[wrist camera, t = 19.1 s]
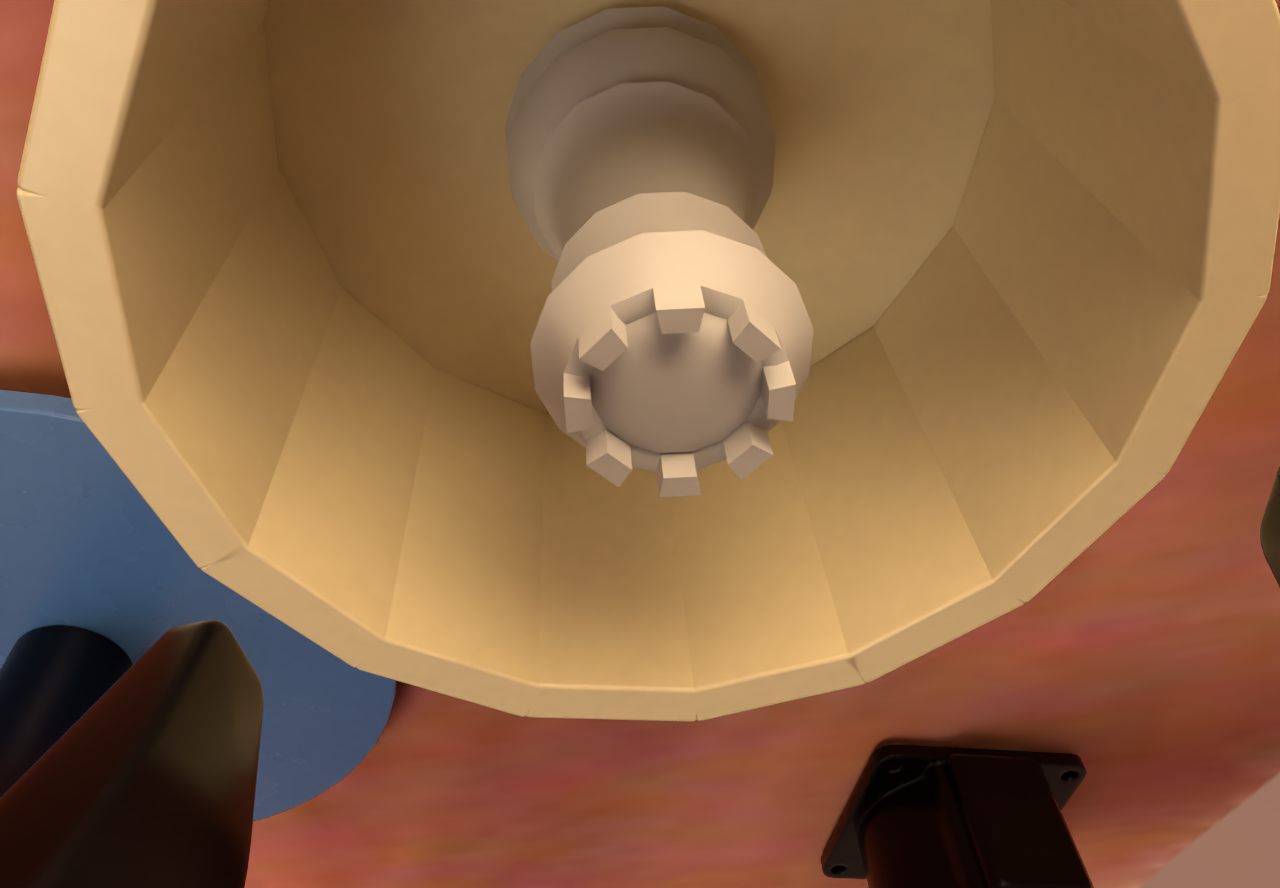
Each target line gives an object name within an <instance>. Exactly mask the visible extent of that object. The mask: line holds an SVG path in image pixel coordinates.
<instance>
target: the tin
mask: <svg viewBox="0 0 1280 888" xmlns="http://www.w3.org/2000/svg"><path fill="white" fill-rule="evenodd" d="M659 6H665V7H667V8H670V9H672V10H675V11H677V12H680V13H682V14H685V15H687V16H690V17H692V18H695V19H697V20H700V21H702V22H705V23H707V24H710V25H712V26H715V27H716V28H717V29H718V30H719V31H720V32H721V33H722V34H723V35H724V36H725V37H726V38H727V39H728V40H729V41H730V42H731V43H732V44H733V45H734V46H735V47H736V48H737V49H738V50H739V51H740V52H741V53H742V54H743V55H744V56H745V57H746V59H747V60H748V61H749V62H750V63H751V64H752V65H753V66H754V69H755V71H756V74H757V77H758V80H759V82H760V85H761V88H762V91H763V93H764V96H765V99H766V102H767V104H768V107H769V110H770V113H771V123H772V126H773V129H774V131H775V134H776V142H775V158H774V174H773V187H772V191H771V194H770V197H769V199H768V201H767V203H766V205H765V207H764V209H763V211H762V213H761V215H760V217H759V219H758V221H757V223H756V225H755V227H754V229H753V231H754V232H756V233H757V234H758V236H759V239H760V241H761V244H762V246H763V249H764V251H765V254H766V256H767V258H768V259H769V260H770V261H771V262H772V263H774V264H775V265H776V266H777V267H778V268H779V269H780V270H781V271H782V272H783V273H785V274H786V275H787V276H788V277H789V278H790V279H791V280H792V281H793V282H794V283H795V284H796V285H797V288H798V290H799V293H800V295H801V298H802V301H803V303H804V306H805V308H806V311H807V313H808V316H809V318H810V321H811V324H812V326H813V329H814V331H813V341H812V351H811V362H810V372H809V377H808V379H807V380H806V382H805V384H804V386H803V387H802V389H801V391H800V393H799V394H798V396H797V398H796V400H795V403H794V415H793V421H784V420H782V421H780V422H779V423H778V424H777V425H775V426H774V427H773V428H772V429H770V430H769V431H768V432H767V433H768V437H769V440H770V444H771V448H772V452H773V456H771V457H770V458H769V459H768V460H766V461H765V462H764V463H763V464H761V465H760V466H759V467H758V468H756V469H755V470H754V471H753V472H751V473H750V474H749V475H747V476H746V477H745V478H744V479H742V480H740V478H739V477H738V476H737V475H736V474H735V473H734V471H733V470H732V469H731V468H730V467H729V465H728V463H727V459H725V460H723V461H720V462H717V463H715V464H712V465H709V466H707V467H704V468H701V469H699V470H697V472H698V478H699V484H700V490H701V495H696V496H678V497H660V498H659V495H658V486H657V478H656V472H653V471H649V470H645V469H641V468H637V467H634V466H632V471H631V472H630V474H629V475H628V476H627V477H626V479H625V480H624V481H623V482H622V484H621V485H620V486H619V487H618V486H616V485H615V484H613V483H612V482H610V481H609V480H607V479H606V478H604V477H603V476H602V475H600V474H599V473H597V472H596V471H594V470H593V469H591V468H590V467H588V466H587V465H586V448H585V447H584V446H582V445H581V444H580V443H578V442H577V441H575V440H574V439H572V438H571V437H569V436H568V435H567V434H565V433H564V432H562V431H561V430H560V429H559V428H558V426H557V425H556V423H555V421H554V420H553V418H552V417H551V415H550V413H549V412H548V410H547V409H546V407H545V405H544V404H543V402H542V401H541V399H540V397H539V396H538V394H537V393H536V391H535V385H534V376H533V366H532V357H531V347H530V343H531V340H532V337H533V335H534V332H535V329H536V327H537V324H538V321H539V318H540V316H541V313H542V310H543V308H544V305H545V302H546V300H547V297H548V296H549V295H550V294H551V293H552V279H553V276H554V274H555V271H556V268H557V265H558V263H559V262H557V261H556V260H555V259H554V258H552V257H551V256H550V255H549V254H547V253H546V252H545V251H544V250H542V249H541V248H540V246H539V245H538V243H537V242H536V240H535V238H534V237H533V235H532V233H531V231H530V229H529V228H528V226H527V224H526V222H525V220H524V219H523V217H522V215H521V213H520V212H519V210H518V208H517V206H516V204H515V203H514V201H513V199H512V195H511V185H510V176H509V166H508V157H507V148H506V147H507V145H506V135H505V123H506V120H507V117H508V114H509V110H510V107H511V104H512V101H513V97H514V94H515V91H516V88H517V84H518V81H519V78H520V75H521V74H522V73H523V72H524V71H525V69H526V68H527V67H528V66H529V65H530V64H531V62H532V61H533V60H534V59H535V58H536V57H537V55H538V54H539V53H540V52H541V51H542V50H543V48H544V47H545V46H546V45H547V44H548V43H549V41H550V40H551V39H552V38H553V37H554V36H555V34H556V33H558V32H560V31H562V30H564V29H566V28H568V27H571V26H573V25H575V24H577V23H579V22H581V21H583V20H585V19H587V18H589V17H591V16H593V15H595V14H597V13H599V12H601V11H603V10H606V9H609V8H634V7H659ZM18 187H19V188H18V189H17V198H18V202H19V206H20V209H21V213H22V217H23V220H24V224H25V228H26V232H27V235H28V239H29V243H30V246H31V250H32V254H33V257H34V261H35V265H36V269H37V272H38V276H39V280H40V283H41V287H42V291H43V295H44V298H45V302H46V306H47V309H48V313H49V317H50V320H51V324H52V328H53V332H54V335H55V339H56V343H57V346H58V350H59V354H60V358H61V361H62V365H63V369H64V372H65V376H66V380H67V383H68V387H69V391H70V395H71V398H72V402H73V406H74V407H75V409H76V412H77V414H78V416H79V417H80V418H81V419H82V421H83V422H84V423H85V424H86V426H87V427H88V428H89V430H90V431H91V432H92V433H93V435H94V436H95V437H96V438H97V440H98V441H99V442H100V444H101V445H102V446H103V447H104V449H105V450H106V451H107V452H108V454H109V455H110V456H111V458H112V459H113V460H114V461H115V463H116V464H117V465H118V466H119V468H120V469H121V470H122V472H123V473H124V474H125V475H126V477H127V478H128V479H129V480H130V482H131V483H132V484H133V486H134V487H135V488H136V489H137V491H138V492H139V493H140V494H141V496H142V497H143V498H144V500H145V501H146V502H147V503H148V505H149V506H150V507H151V508H152V510H153V511H154V512H155V513H156V515H157V516H158V517H159V519H160V520H161V521H162V522H163V524H164V525H165V526H166V527H167V529H168V530H169V531H170V533H171V534H172V535H173V536H174V538H175V539H176V540H177V541H178V543H179V544H180V545H181V547H182V548H183V549H184V550H185V552H186V553H187V554H188V555H189V557H190V558H191V559H192V561H193V562H194V563H195V564H196V566H197V567H199V568H201V570H202V571H203V572H205V573H207V574H208V575H210V576H211V577H213V578H214V579H216V580H217V581H219V582H221V583H222V584H224V585H225V586H227V587H228V588H230V589H232V590H233V591H235V592H236V593H238V594H239V595H241V596H243V597H244V598H246V599H247V600H249V601H250V602H252V603H253V604H255V605H257V606H258V607H260V608H261V609H263V610H264V611H266V612H268V613H269V614H271V615H272V616H274V617H275V618H277V619H279V620H280V621H282V622H283V623H285V624H286V625H288V626H290V627H291V628H293V629H294V630H296V631H297V632H299V633H300V634H302V635H304V636H305V637H307V638H308V639H310V640H311V641H313V642H315V643H316V644H318V645H319V646H321V647H322V648H324V649H326V650H327V651H329V652H330V653H332V654H333V655H335V656H336V657H338V658H340V659H341V660H343V661H344V662H346V663H347V664H349V665H351V666H352V667H357V669H359V670H362V671H365V672H369V673H372V674H376V675H379V676H383V677H386V678H390V679H393V680H397V681H400V682H403V683H407V684H410V685H414V686H417V687H421V688H424V689H428V690H431V691H434V692H438V693H441V694H445V695H448V696H452V697H455V698H459V699H462V700H466V701H469V702H472V703H476V704H479V705H483V706H486V707H490V708H493V709H497V710H500V711H503V712H507V713H510V714H514V715H517V716H521V717H524V716H525V715H526V716H527V717H536V718H574V719H613V720H652V721H690V722H693V721H695V720H696V719H697V720H698V721H702V720H707V719H711V718H716V717H720V716H725V715H729V714H734V713H738V712H743V711H747V710H752V709H756V708H761V707H765V706H770V705H774V704H779V703H783V702H788V701H792V700H797V699H801V698H806V697H810V696H815V695H819V694H824V693H828V692H833V691H837V690H842V689H846V688H851V687H855V686H860V685H863V684H864V682H866V683H869V682H871V681H873V680H875V679H877V678H879V677H881V676H883V675H885V674H887V673H889V672H891V671H893V670H895V669H897V668H899V667H901V666H903V665H905V664H907V663H909V662H911V661H913V660H915V659H917V658H919V657H921V656H923V655H925V654H927V653H929V652H931V651H933V650H935V649H937V648H939V647H941V646H943V645H945V644H947V643H949V642H951V641H952V640H954V639H956V638H958V637H960V636H962V635H964V634H966V633H968V632H970V631H972V630H974V629H976V628H978V627H980V626H982V625H984V624H986V623H988V622H990V621H992V620H994V619H996V618H998V617H1000V616H1002V615H1004V614H1006V613H1008V612H1010V611H1012V610H1014V609H1016V608H1018V607H1020V606H1022V605H1023V604H1024V602H1029V601H1030V600H1031V599H1032V598H1033V597H1034V596H1035V595H1036V594H1037V593H1039V592H1040V591H1041V590H1042V589H1043V588H1044V587H1045V586H1046V585H1047V584H1048V583H1050V582H1051V581H1052V580H1053V579H1054V578H1055V577H1056V576H1057V575H1058V574H1059V573H1060V572H1062V571H1063V570H1064V569H1065V568H1066V567H1067V566H1068V565H1069V564H1070V563H1071V562H1073V561H1074V560H1075V559H1076V558H1077V557H1078V556H1079V555H1080V554H1081V553H1082V552H1083V551H1085V550H1086V549H1087V548H1088V547H1089V546H1090V545H1091V544H1092V543H1093V542H1094V541H1096V540H1097V539H1098V538H1099V537H1100V536H1101V535H1102V534H1103V533H1104V532H1105V531H1107V530H1108V529H1109V528H1110V527H1111V526H1112V525H1113V524H1114V523H1115V522H1116V521H1117V520H1119V519H1120V518H1121V517H1122V516H1123V515H1124V514H1125V513H1126V512H1127V511H1128V510H1130V509H1131V508H1132V507H1133V506H1134V505H1135V504H1136V503H1137V502H1138V501H1139V500H1140V499H1142V498H1143V497H1144V496H1145V495H1146V494H1147V493H1148V492H1149V491H1150V490H1151V489H1153V488H1154V487H1155V486H1156V485H1157V484H1158V483H1159V482H1160V481H1161V480H1162V479H1163V478H1164V477H1165V474H1167V473H1169V471H1170V469H1171V468H1172V466H1173V464H1174V462H1175V460H1176V459H1177V457H1178V455H1179V453H1180V452H1181V450H1182V448H1183V446H1184V445H1185V443H1186V441H1187V439H1188V437H1189V436H1190V434H1191V432H1192V430H1193V429H1194V427H1195V425H1196V423H1197V422H1198V420H1199V418H1200V416H1201V414H1202V413H1203V411H1204V409H1205V407H1206V406H1207V404H1208V402H1209V400H1210V399H1211V397H1212V395H1213V393H1214V391H1215V390H1216V388H1217V386H1218V384H1219V383H1220V381H1221V379H1222V377H1223V376H1224V374H1225V372H1226V370H1227V368H1228V367H1229V365H1230V363H1231V361H1232V360H1233V358H1234V356H1235V354H1236V353H1237V351H1238V349H1239V347H1240V345H1241V344H1242V342H1243V340H1244V338H1245V337H1246V335H1247V333H1248V331H1249V330H1250V328H1251V326H1252V324H1253V322H1254V321H1255V319H1256V317H1257V315H1258V314H1259V312H1260V310H1261V308H1262V306H1263V305H1264V303H1265V301H1266V299H1267V293H1269V291H1270V283H1271V275H1272V268H1273V260H1274V252H1275V244H1276V237H1277V229H1278V221H1279V213H1280V13H1279V10H1278V7H1277V4H1276V1H1275V0H55V1H54V6H53V11H52V16H51V21H50V26H49V30H48V35H47V40H46V45H45V50H44V55H43V59H42V64H41V69H40V74H39V79H38V84H37V88H36V93H35V98H34V103H33V108H32V112H31V117H30V122H29V127H28V132H27V137H26V141H25V146H24V151H23V156H22V161H21V166H20V170H19V175H18Z"/></svg>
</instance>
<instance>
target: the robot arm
mask: <svg viewBox="0 0 1280 888" xmlns="http://www.w3.org/2000/svg"><path fill="white" fill-rule="evenodd" d="M1260 540H1261V546H1262V550H1263V553H1264V556H1265V558H1266V560H1267V562H1268V564H1269V566H1270V568H1271V570H1272V573H1273V575H1274V577H1275V579H1276V581H1277V583H1278V585H1279V587H1280V467H1279V469H1278V472H1277V475H1276V479H1275V482H1274V485H1273V488H1272V491H1271V494H1270V498H1269V501H1268V504H1267V507H1266V510H1265V514H1264V517H1263V520H1262V523H1261V528H1260ZM263 705H264V698H263V690H262V685H261V682H260V679H259V677H258V675H257V673H256V672H255V670H254V668H253V667H252V665H251V663H250V662H249V660H248V658H247V657H246V655H245V653H244V652H243V650H242V648H241V647H240V645H239V644H238V642H237V640H236V639H235V637H234V635H233V634H232V632H231V630H230V629H229V628H228V626H227V625H225V624H224V623H222V622H221V621H217V620H209V621H202V622H196V623H189V624H183V625H178V626H175V627H173V628H171V629H169V630H168V631H167V632H166V633H165V634H163V635H162V636H161V637H160V638H159V639H158V640H157V641H156V642H155V643H154V644H153V645H152V646H151V647H150V648H149V649H148V650H147V651H146V652H145V653H144V654H143V655H142V656H141V657H140V658H139V659H138V660H137V661H136V662H135V663H134V664H133V665H132V666H131V667H130V668H129V669H128V670H127V671H126V672H125V673H124V674H123V675H122V676H121V677H120V678H119V679H118V680H117V681H116V682H115V683H114V684H113V685H112V686H111V687H110V688H109V689H108V690H107V691H106V692H105V693H104V694H103V695H102V696H101V697H100V698H99V699H98V700H97V701H96V702H95V703H94V704H93V705H92V706H91V707H90V709H89V710H88V711H87V712H86V713H85V714H84V715H83V716H82V717H81V718H80V719H79V720H78V721H77V722H76V723H75V724H74V725H73V726H72V727H71V728H70V729H69V730H68V731H67V732H66V733H65V734H64V735H63V736H62V737H61V738H60V739H59V740H58V741H57V742H56V743H55V744H54V745H53V746H52V747H51V748H50V749H49V750H48V751H47V752H46V753H45V754H44V755H43V756H42V757H41V758H40V759H39V760H38V761H37V762H36V763H35V764H34V765H33V766H32V767H31V768H30V769H29V770H28V771H27V772H26V773H25V774H24V775H23V776H22V777H21V778H20V779H19V780H18V781H17V782H16V783H15V784H14V785H13V786H12V787H11V788H10V789H9V790H8V791H7V792H6V793H5V794H4V795H3V796H2V797H1V798H0V888H244V886H245V880H246V875H247V869H248V861H249V853H250V845H251V835H252V824H253V814H254V803H255V792H256V782H257V771H258V760H259V749H260V739H261V728H262V717H263ZM1086 773H1087V772H1086V769H1085V767H1084V765H1083V762H1082V760H1081V758H1080V757H1079V756H1077V755H1074V754H1065V753H1045V752H1026V751H1007V750H988V749H968V748H949V747H930V746H911V745H886V746H883V747H881V748H879V749H877V750H876V751H875V752H874V753H873V755H872V757H871V759H870V761H869V763H868V765H867V767H866V769H865V771H864V773H863V775H862V777H861V779H860V781H859V783H858V785H857V787H856V789H855V791H854V793H853V795H852V797H851V799H850V801H849V803H848V805H847V807H846V809H845V811H844V813H843V815H842V817H841V819H840V821H839V823H838V825H837V827H836V829H835V831H834V833H833V835H832V837H831V839H830V841H829V843H828V845H827V847H826V849H825V851H824V853H823V855H822V857H821V864H822V869H823V873H824V874H825V875H826V876H828V877H832V878H856V879H867V881H868V885H869V888H1094V887H1093V885H1092V882H1091V880H1090V878H1089V875H1088V873H1087V871H1086V868H1085V866H1084V864H1083V861H1082V859H1081V857H1080V855H1079V852H1078V850H1077V848H1076V845H1075V843H1074V841H1073V838H1072V836H1071V834H1070V832H1069V829H1068V827H1067V825H1066V822H1065V820H1064V818H1063V815H1062V813H1061V811H1060V810H1061V809H1062V808H1063V806H1064V805H1065V803H1066V802H1067V801H1068V799H1069V798H1070V797H1071V795H1072V794H1073V792H1074V791H1075V790H1076V788H1077V787H1078V786H1079V784H1080V783H1081V781H1082V780H1083V779H1084V777H1085V775H1086Z"/></svg>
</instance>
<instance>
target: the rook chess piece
mask: <svg viewBox="0 0 1280 888" xmlns="http://www.w3.org/2000/svg"><path fill="white" fill-rule="evenodd" d="M505 135H506V145H507V147H506V148H507V157H508V166H509V176H510V185H511V195H512V199H513V201H514V203H515V204H516V206H517V208H518V210H519V212H520V213H521V215H522V217H523V219H524V220H525V222H526V224H527V226H528V228H529V229H530V231H531V233H532V235H533V237H534V238H535V240H536V242H537V243H538V245H539V246H540V248H541V249H542V250H544V251H545V252H546V253H547V254H549V255H550V256H551V257H552V258H554V259H555V260H556V261H557V262H559V263H558V265H557V268H556V271H555V274H554V276H553V279H552V293H551V294H550V295H549V296H548V297H547V300H546V302H545V305H544V308H543V310H542V313H541V316H540V318H539V321H538V324H537V327H536V329H535V332H534V335H533V337H532V340H531V343H530V347H531V357H532V366H533V376H534V385H535V391H536V393H537V394H538V396H539V397H540V399H541V401H542V402H543V404H544V405H545V407H546V409H547V410H548V412H549V413H550V415H551V417H552V418H553V420H554V421H555V423H556V425H557V426H558V428H559V429H560V430H561V431H562V432H564V433H565V434H567V435H568V436H569V437H571V438H572V439H574V440H575V441H577V442H578V443H580V444H581V445H582V446H584V447H585V448H586V465H587V466H588V467H590V468H591V469H593V470H594V471H596V472H597V473H599V474H600V475H602V476H603V477H604V478H606V479H607V480H609V481H610V482H612V483H613V484H615V485H616V486H618V487H619V486H620V485H621V484H622V482H623V481H624V480H625V479H626V477H627V476H628V475H629V474H630V472H631V471H632V466H634V467H637V468H641V469H645V470H649V471H653V472H656V478H657V486H658V495H659V498H660V497H678V496H696V495H701V490H700V484H699V478H698V472H697V470H699V469H701V468H704V467H707V466H709V465H712V464H715V463H717V462H720V461H723V460H725V459H727V463H728V465H729V467H730V468H731V469H732V470H733V471H734V473H735V474H736V475H737V476H738V477H739V478H740V480H742V479H744V478H745V477H746V476H747V475H749V474H750V473H751V472H753V471H754V470H755V469H756V468H758V467H759V466H760V465H761V464H763V463H764V462H765V461H766V460H768V459H769V458H770V457H771V456H773V452H772V448H771V444H770V440H769V437H768V433H767V432H768V431H769V430H770V429H772V428H773V427H774V426H775V425H777V424H778V423H779V422H780V421H782V420H784V421H793V415H794V403H795V400H796V398H797V396H798V394H799V393H800V391H801V389H802V387H803V386H804V384H805V382H806V380H807V379H808V377H809V372H810V362H811V351H812V341H813V331H814V329H813V326H812V324H811V321H810V318H809V316H808V313H807V311H806V308H805V306H804V303H803V301H802V298H801V295H800V293H799V290H798V288H797V285H796V284H795V283H794V282H793V281H792V280H791V279H790V278H789V277H788V276H787V275H786V274H785V273H783V272H782V271H781V270H780V269H779V268H778V267H777V266H776V265H775V264H774V263H772V262H771V261H770V260H769V259H768V258H767V256H766V254H765V251H764V249H763V246H762V244H761V241H760V239H759V236H758V234H757V233H756V232H754V231H753V229H754V227H755V225H756V223H757V221H758V219H759V217H760V215H761V213H762V211H763V209H764V207H765V205H766V203H767V201H768V199H769V197H770V194H771V191H772V187H773V174H774V158H775V142H776V134H775V131H774V129H773V126H772V123H771V113H770V110H769V107H768V104H767V102H766V99H765V96H764V93H763V91H762V88H761V85H760V82H759V80H758V77H757V74H756V71H755V69H754V66H753V65H752V64H751V63H750V62H749V61H748V60H747V59H746V57H745V56H744V55H743V54H742V53H741V52H740V51H739V50H738V49H737V48H736V47H735V46H734V45H733V44H732V43H731V42H730V41H729V40H728V39H727V38H726V37H725V36H724V35H723V34H722V33H721V32H720V31H719V30H718V29H717V28H716V27H715V26H712V25H710V24H707V23H705V22H702V21H700V20H697V19H695V18H692V17H690V16H687V15H685V14H682V13H680V12H677V11H675V10H672V9H670V8H667V7H665V6H659V7H634V8H609V9H606V10H603V11H601V12H599V13H597V14H595V15H593V16H591V17H589V18H587V19H585V20H583V21H581V22H579V23H577V24H575V25H573V26H571V27H568V28H566V29H564V30H562V31H560V32H558V33H556V34H555V36H554V37H553V38H552V39H551V40H550V41H549V43H548V44H547V45H546V46H545V47H544V48H543V50H542V51H541V52H540V53H539V54H538V55H537V57H536V58H535V59H534V60H533V61H532V62H531V64H530V65H529V66H528V67H527V68H526V69H525V71H524V72H523V73H522V74H521V75H520V78H519V81H518V84H517V88H516V91H515V94H514V97H513V101H512V104H511V107H510V110H509V114H508V117H507V120H506V123H505Z"/></svg>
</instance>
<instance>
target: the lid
mask: <svg viewBox="0 0 1280 888" xmlns="http://www.w3.org/2000/svg"><path fill="white" fill-rule="evenodd" d="M209 620H217V621H221V622H222V623H224V624H225V625H227V626H228V628H229V629H230V630H231V632H232V634H233V635H234V637H235V639H236V640H237V642H238V644H239V645H240V647H241V648H242V650H243V652H244V653H245V655H246V657H247V658H248V660H249V662H250V663H251V665H252V667H253V668H254V670H255V672H256V673H257V675H258V677H259V679H260V682H261V685H262V690H263V698H264V705H263V717H262V728H261V739H260V749H259V760H258V771H257V782H256V792H255V803H254V814H253V822H254V821H257V820H261V819H265V818H268V817H270V816H273V815H276V814H278V813H281V812H284V811H286V810H289V809H292V808H294V807H296V806H298V805H300V804H302V803H304V802H306V801H308V800H310V799H312V798H314V797H316V796H318V795H320V794H321V793H323V792H324V791H326V790H327V789H329V788H330V787H332V786H333V785H335V784H336V783H338V782H339V781H341V780H342V779H343V778H344V777H345V776H346V775H348V774H349V773H350V772H351V771H352V770H353V769H354V768H355V767H356V766H357V765H358V764H359V763H361V762H362V760H363V759H364V758H365V756H366V755H367V754H368V753H369V751H370V750H371V749H372V747H373V746H374V745H375V744H376V742H377V741H378V739H379V737H380V735H381V733H382V731H383V729H384V727H385V726H386V724H387V722H388V720H389V717H390V713H391V709H392V706H393V702H394V699H395V695H396V689H397V683H398V681H397V680H393V679H390V678H386V677H383V676H379V675H376V674H372V673H369V672H365V671H362V670H359V669H357V667H352V666H351V665H349V664H347V663H346V662H344V661H343V660H341V659H340V658H338V657H336V656H335V655H333V654H332V653H330V652H329V651H327V650H326V649H324V648H322V647H321V646H319V645H318V644H316V643H315V642H313V641H311V640H310V639H308V638H307V637H305V636H304V635H302V634H300V633H299V632H297V631H296V630H294V629H293V628H291V627H290V626H288V625H286V624H285V623H283V622H282V621H280V620H279V619H277V618H275V617H274V616H272V615H271V614H269V613H268V612H266V611H264V610H263V609H261V608H260V607H258V606H257V605H255V604H253V603H252V602H250V601H249V600H247V599H246V598H244V597H243V596H241V595H239V594H238V593H236V592H235V591H233V590H232V589H230V588H228V587H227V586H225V585H224V584H222V583H221V582H219V581H217V580H216V579H214V578H213V577H211V576H210V575H208V574H207V573H205V572H203V571H202V570H201V568H199V567H197V566H196V564H195V563H194V562H193V561H192V559H191V558H190V557H189V555H188V554H187V553H186V552H185V550H184V549H183V548H182V547H181V545H180V544H179V543H178V541H177V540H176V539H175V538H174V536H173V535H172V534H171V533H170V531H169V530H168V529H167V527H166V526H165V525H164V524H163V522H162V521H161V520H160V519H159V517H158V516H157V515H156V513H155V512H154V511H153V510H152V508H151V507H150V506H149V505H148V503H147V502H146V501H145V500H144V498H143V497H142V496H141V494H140V493H139V492H138V491H137V489H136V488H135V487H134V486H133V484H132V483H131V482H130V480H129V479H128V478H127V477H126V475H125V474H124V473H123V472H122V470H121V469H120V468H119V466H118V465H117V464H116V463H115V461H114V460H113V459H112V458H111V456H110V455H109V454H108V452H107V451H106V450H105V449H104V447H103V446H102V445H101V444H100V442H99V441H98V440H97V438H96V437H95V436H94V435H93V433H92V432H91V431H90V430H89V428H88V427H87V426H86V424H85V423H84V422H83V421H82V419H81V418H80V417H79V416H78V414H77V412H76V409H75V407H74V406H73V402H72V399H71V398H66V397H61V396H56V395H47V394H38V393H29V392H20V391H11V390H0V798H1V797H2V796H3V795H4V794H5V793H6V792H7V791H8V790H9V789H10V788H11V787H12V786H13V785H14V784H15V783H16V782H17V781H18V780H19V779H20V778H21V777H22V776H23V775H24V774H25V773H26V772H27V771H28V770H29V769H30V768H31V767H32V766H33V765H34V764H35V763H36V762H37V761H38V760H39V759H40V758H41V757H42V756H43V755H44V754H45V753H46V752H47V751H48V750H49V749H50V748H51V747H52V746H53V745H54V744H55V743H56V742H57V741H58V740H59V739H60V738H61V737H62V736H63V735H64V734H65V733H66V732H67V731H68V730H69V729H70V728H71V727H72V726H73V725H74V724H75V723H76V722H77V721H78V720H79V719H80V718H81V717H82V716H83V715H84V714H85V713H86V712H87V711H88V710H89V709H90V707H91V706H92V705H93V704H94V703H95V702H96V701H97V700H98V699H99V698H100V697H101V696H102V695H103V694H104V693H105V692H106V691H107V690H108V689H109V688H110V687H111V686H112V685H113V684H114V683H115V682H116V681H117V680H118V679H119V678H120V677H121V676H122V675H123V674H124V673H125V672H126V671H127V670H128V669H129V668H130V667H131V666H132V665H133V664H134V663H135V662H136V661H137V660H138V659H139V658H140V657H141V656H142V655H143V654H144V653H145V652H146V651H147V650H148V649H149V648H150V647H151V646H152V645H153V644H154V643H155V642H156V641H157V640H158V639H159V638H160V637H161V636H162V635H163V634H165V633H166V632H167V631H168V630H169V629H171V628H173V627H175V626H178V625H183V624H189V623H196V622H202V621H209Z"/></svg>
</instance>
